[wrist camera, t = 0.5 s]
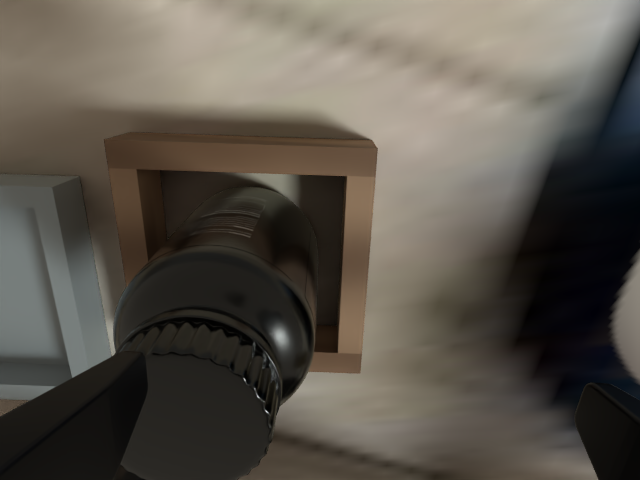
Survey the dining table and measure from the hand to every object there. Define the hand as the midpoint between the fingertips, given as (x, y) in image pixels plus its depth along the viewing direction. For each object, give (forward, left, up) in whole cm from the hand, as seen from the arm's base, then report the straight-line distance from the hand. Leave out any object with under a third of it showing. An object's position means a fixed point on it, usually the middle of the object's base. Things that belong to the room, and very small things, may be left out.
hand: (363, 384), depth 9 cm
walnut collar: (-3, +5, -13) cm, 14 cm away
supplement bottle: (-3, +5, -14) cm, 14 cm away
